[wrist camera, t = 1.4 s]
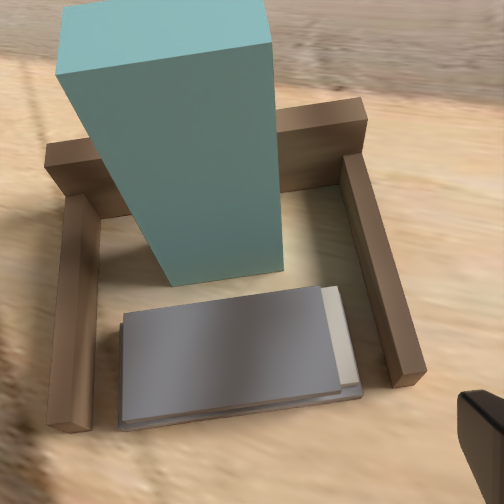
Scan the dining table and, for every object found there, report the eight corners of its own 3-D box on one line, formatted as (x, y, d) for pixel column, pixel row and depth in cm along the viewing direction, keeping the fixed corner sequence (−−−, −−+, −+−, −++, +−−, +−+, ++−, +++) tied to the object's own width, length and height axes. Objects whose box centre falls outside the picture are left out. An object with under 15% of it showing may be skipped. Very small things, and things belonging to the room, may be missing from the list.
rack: (70, 433, 22) (15, 413, 18) (85, 200, 29) (46, 143, 24) (414, 385, 22) (443, 353, 18) (350, 161, 28) (360, 97, 24)
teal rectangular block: (171, 286, 25) (55, 74, 13) (169, 238, 27) (63, 7, 15) (283, 270, 25) (272, 42, 13) (275, 223, 27) (257, -23, 14)
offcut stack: (123, 431, 22) (105, 423, 20) (125, 329, 24) (108, 311, 22) (361, 398, 22) (368, 386, 20) (338, 298, 24) (342, 277, 22)
